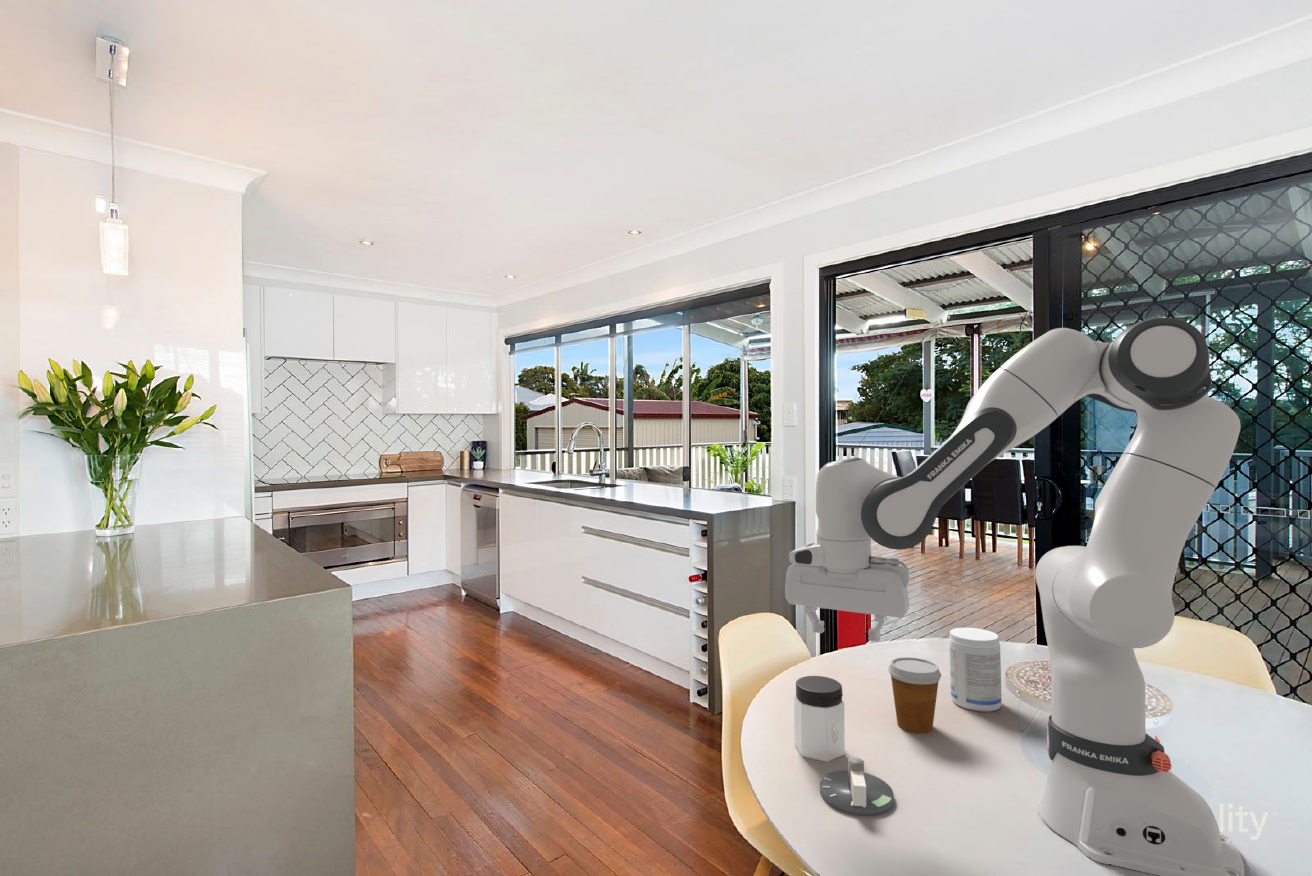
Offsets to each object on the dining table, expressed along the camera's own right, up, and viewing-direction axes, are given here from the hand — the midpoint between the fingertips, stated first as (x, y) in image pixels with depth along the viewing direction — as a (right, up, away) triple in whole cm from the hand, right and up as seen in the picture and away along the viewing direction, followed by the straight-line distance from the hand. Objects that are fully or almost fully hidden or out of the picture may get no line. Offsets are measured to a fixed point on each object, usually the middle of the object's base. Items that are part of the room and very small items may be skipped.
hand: (845, 636), depth 107 cm
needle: (-1, -21, -10) cm, 23 cm away
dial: (-1, -23, -8) cm, 24 cm away
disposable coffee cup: (+18, -23, +16) cm, 33 cm away
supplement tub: (+35, -22, +26) cm, 49 cm away
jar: (-3, -23, +7) cm, 24 cm away
